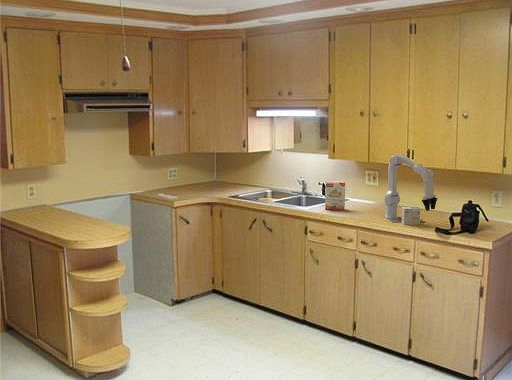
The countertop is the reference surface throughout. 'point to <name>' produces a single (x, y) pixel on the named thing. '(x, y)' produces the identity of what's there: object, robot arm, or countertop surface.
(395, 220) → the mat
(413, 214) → the light bulb box
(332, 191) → the cracker box
